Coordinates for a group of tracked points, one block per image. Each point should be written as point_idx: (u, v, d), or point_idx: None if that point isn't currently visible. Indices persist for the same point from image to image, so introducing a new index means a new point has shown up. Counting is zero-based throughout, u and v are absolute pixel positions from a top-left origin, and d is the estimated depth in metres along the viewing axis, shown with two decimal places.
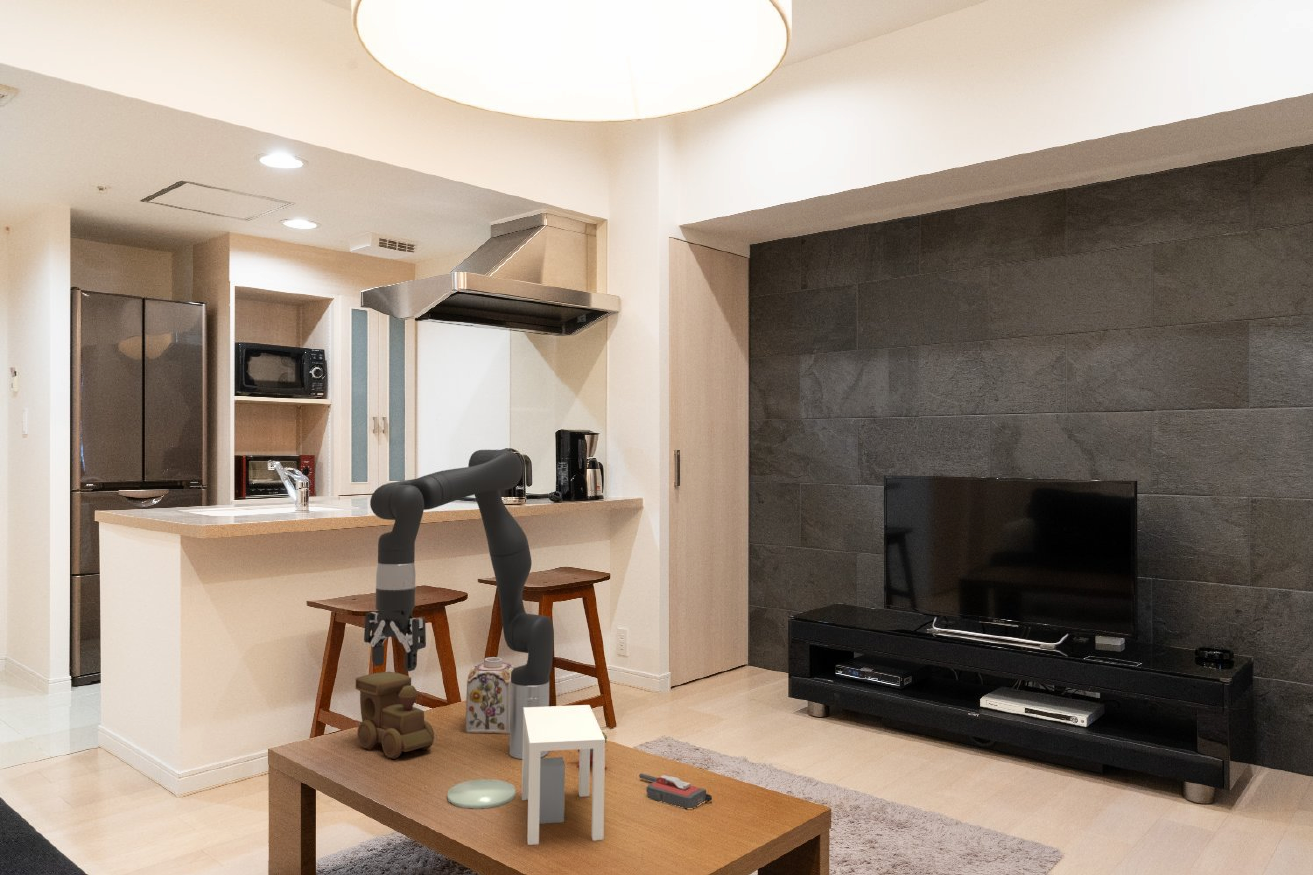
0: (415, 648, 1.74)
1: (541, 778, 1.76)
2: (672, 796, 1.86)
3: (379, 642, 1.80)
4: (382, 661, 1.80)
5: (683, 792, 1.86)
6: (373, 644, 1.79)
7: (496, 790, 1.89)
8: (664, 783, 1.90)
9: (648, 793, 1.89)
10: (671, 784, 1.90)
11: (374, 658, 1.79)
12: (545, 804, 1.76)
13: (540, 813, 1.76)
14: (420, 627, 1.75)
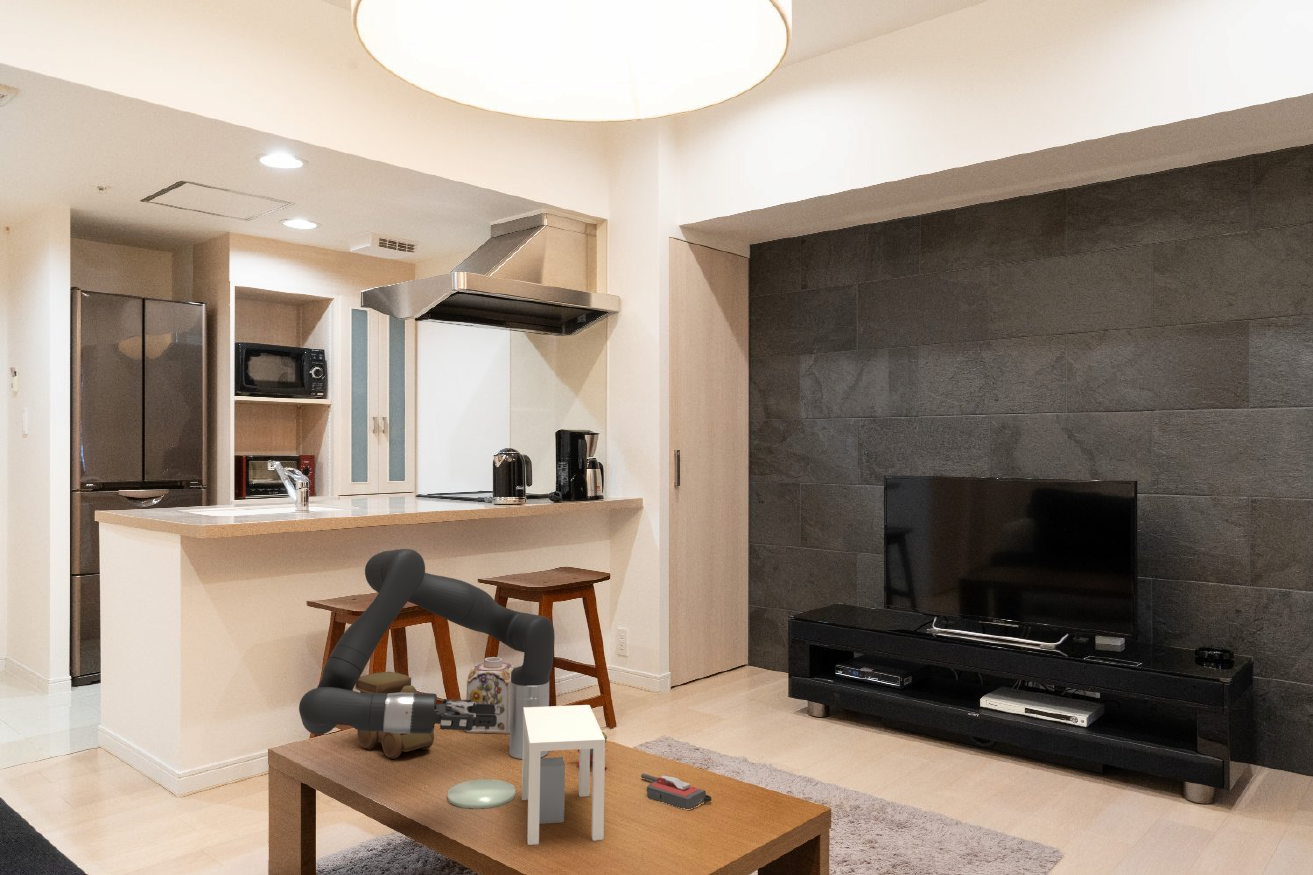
0: (470, 729, 1.69)
1: (541, 778, 1.76)
2: (671, 796, 1.86)
3: (471, 709, 1.80)
4: (491, 706, 1.80)
5: (682, 792, 1.85)
6: None
7: (496, 790, 1.89)
8: (664, 783, 1.90)
9: (648, 793, 1.89)
10: (671, 784, 1.90)
11: None
12: (545, 804, 1.76)
13: (540, 813, 1.76)
14: (450, 723, 1.68)
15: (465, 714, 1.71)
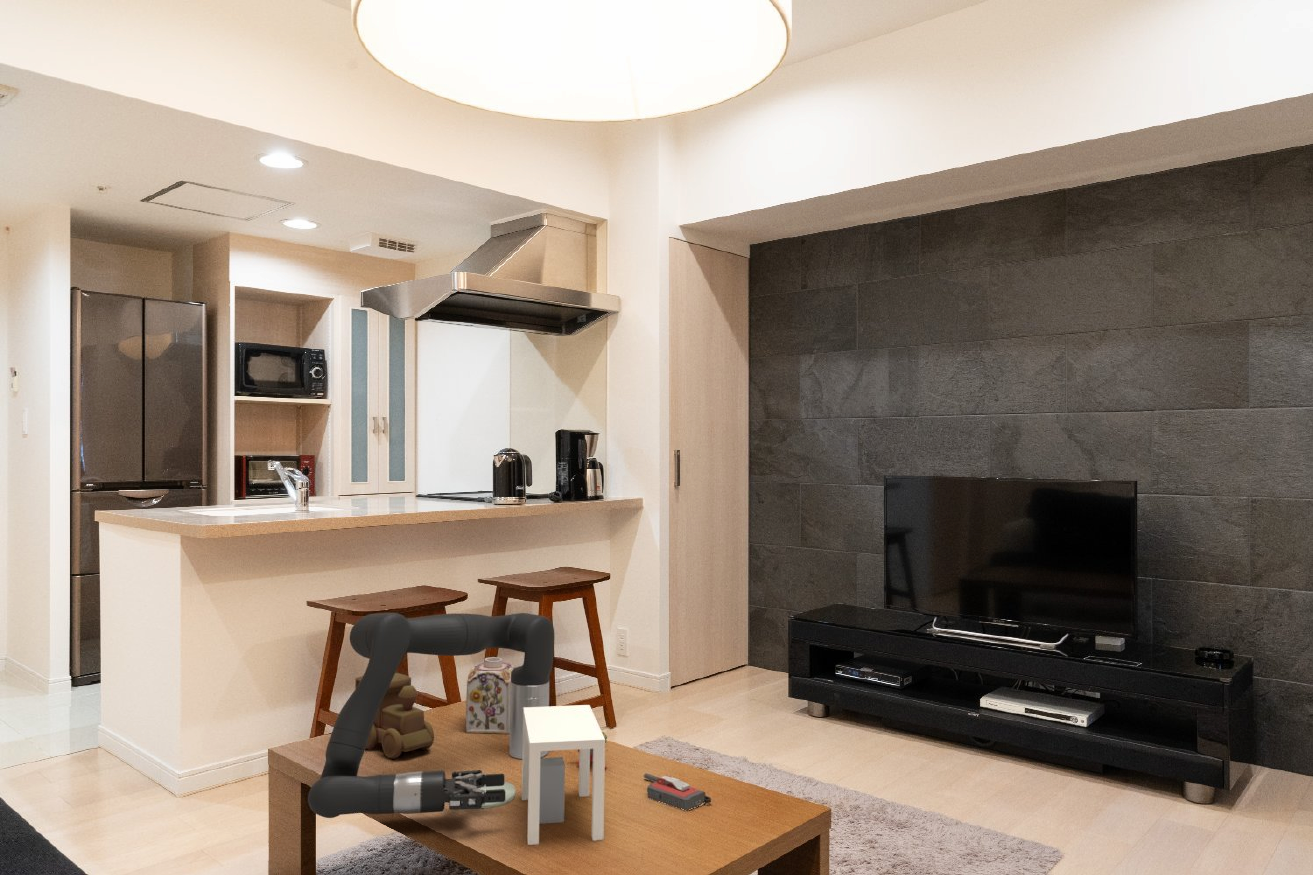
0: None
1: (541, 778, 1.76)
2: (670, 797, 1.85)
3: (481, 780, 1.80)
4: (501, 776, 1.81)
5: (681, 793, 1.85)
6: None
7: None
8: (664, 784, 1.90)
9: (648, 793, 1.90)
10: (671, 785, 1.89)
11: None
12: (545, 804, 1.76)
13: (540, 813, 1.76)
14: (459, 803, 1.68)
15: (474, 791, 1.71)
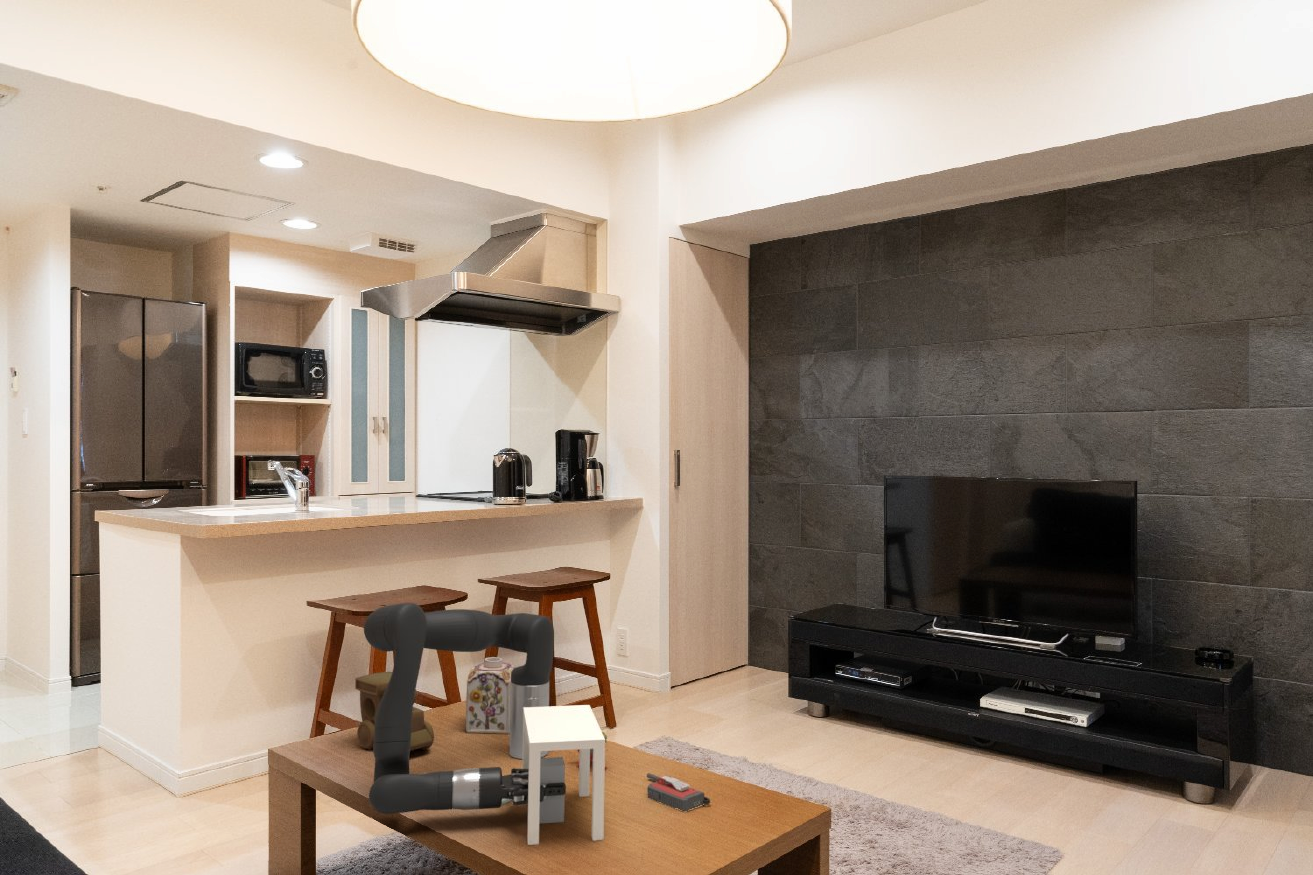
0: (541, 800, 1.73)
1: (541, 778, 1.76)
2: (669, 797, 1.85)
3: None
4: None
5: (679, 794, 1.85)
6: None
7: None
8: (664, 784, 1.89)
9: (648, 793, 1.90)
10: (671, 785, 1.89)
11: None
12: (545, 804, 1.76)
13: (540, 813, 1.76)
14: (523, 798, 1.71)
15: None
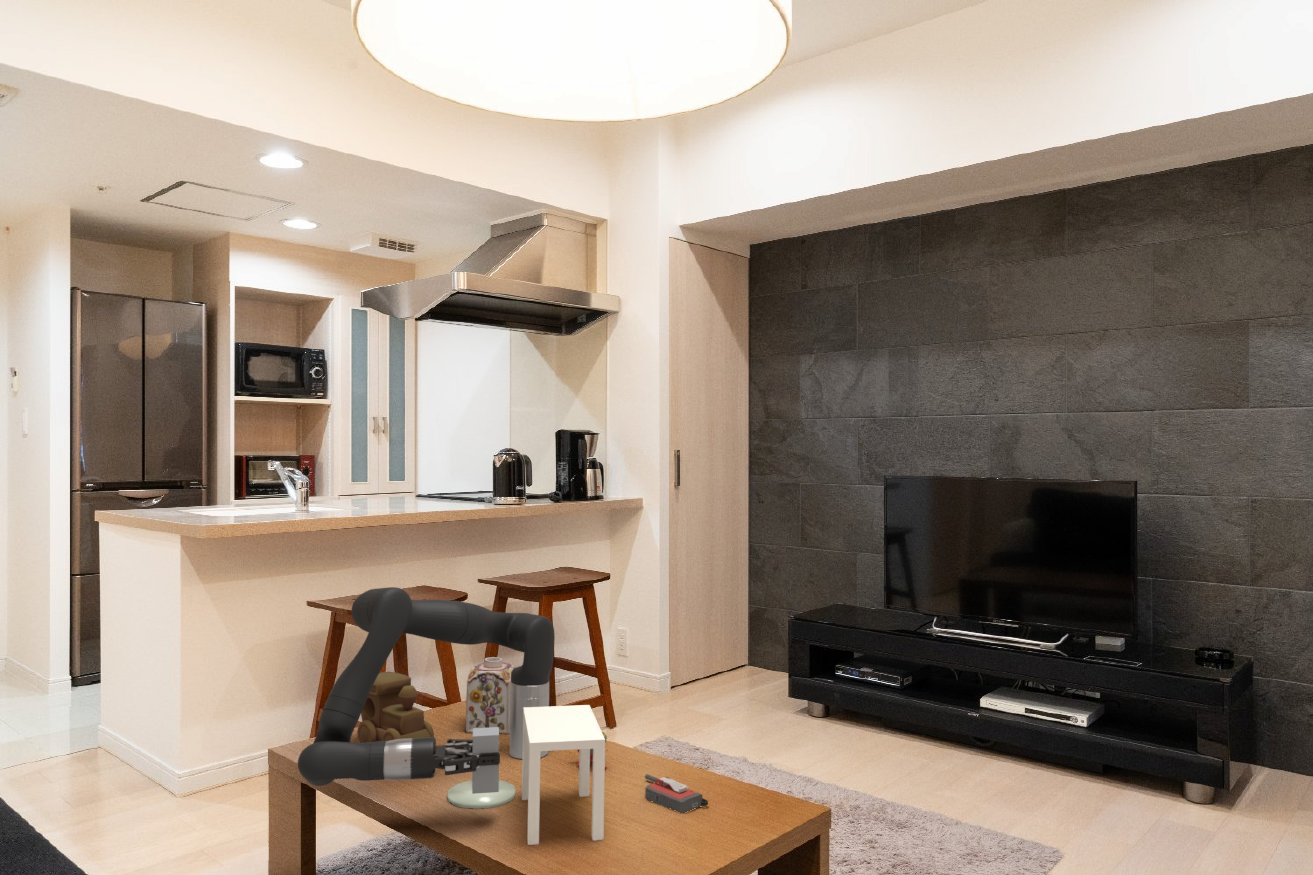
0: (474, 770, 1.71)
1: (475, 748, 1.73)
2: (667, 799, 1.84)
3: None
4: None
5: (677, 795, 1.84)
6: None
7: None
8: (662, 785, 1.89)
9: (646, 794, 1.89)
10: (669, 787, 1.88)
11: None
12: (478, 774, 1.74)
13: (474, 783, 1.73)
14: (455, 768, 1.69)
15: (468, 755, 1.72)
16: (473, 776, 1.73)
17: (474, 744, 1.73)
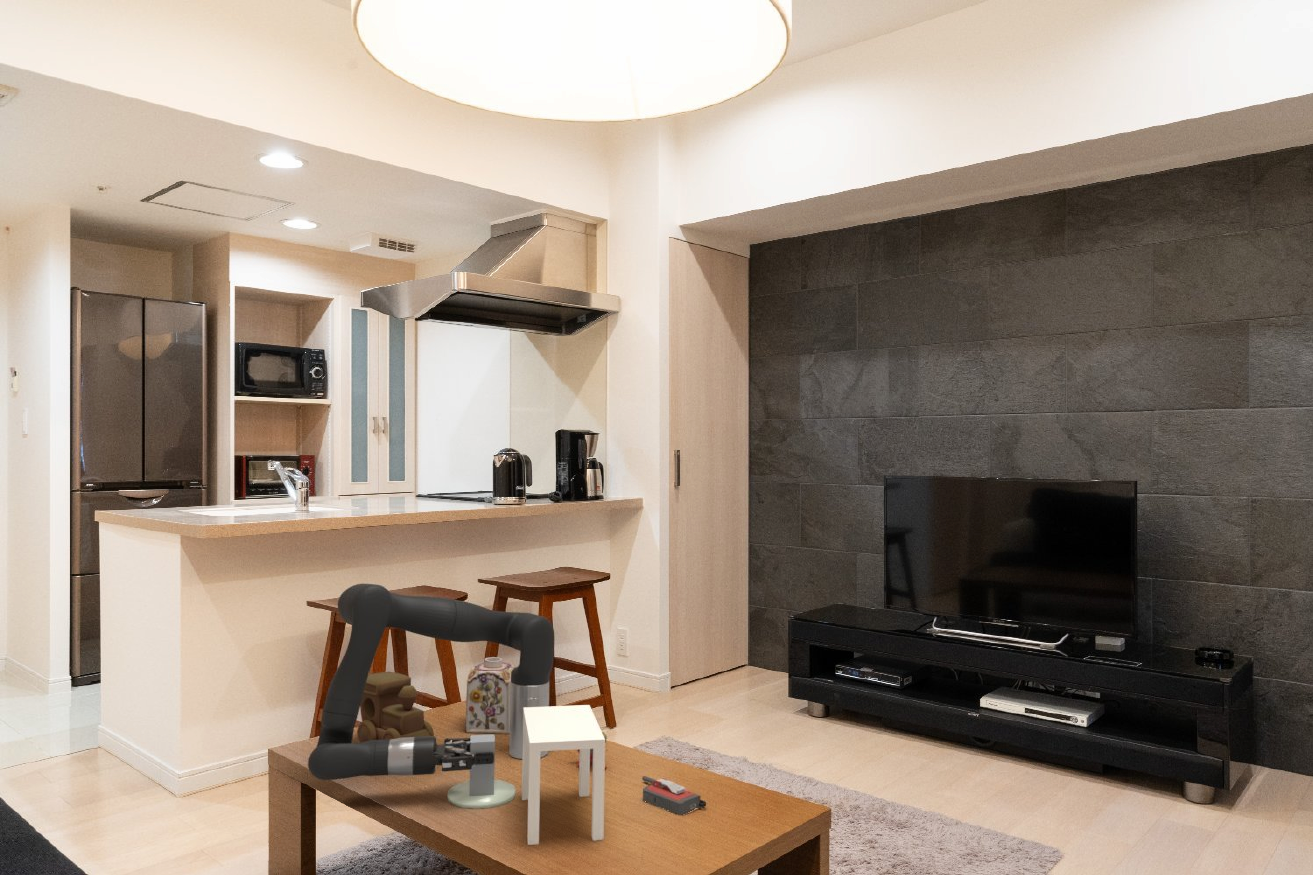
0: (470, 768, 1.83)
1: None
2: (664, 800, 1.83)
3: None
4: None
5: (675, 797, 1.83)
6: None
7: (496, 790, 1.89)
8: (660, 787, 1.88)
9: (643, 796, 1.88)
10: (667, 788, 1.88)
11: None
12: (475, 778, 1.87)
13: (471, 786, 1.86)
14: (451, 765, 1.82)
15: (464, 754, 1.85)
16: (470, 780, 1.86)
17: (471, 750, 1.87)
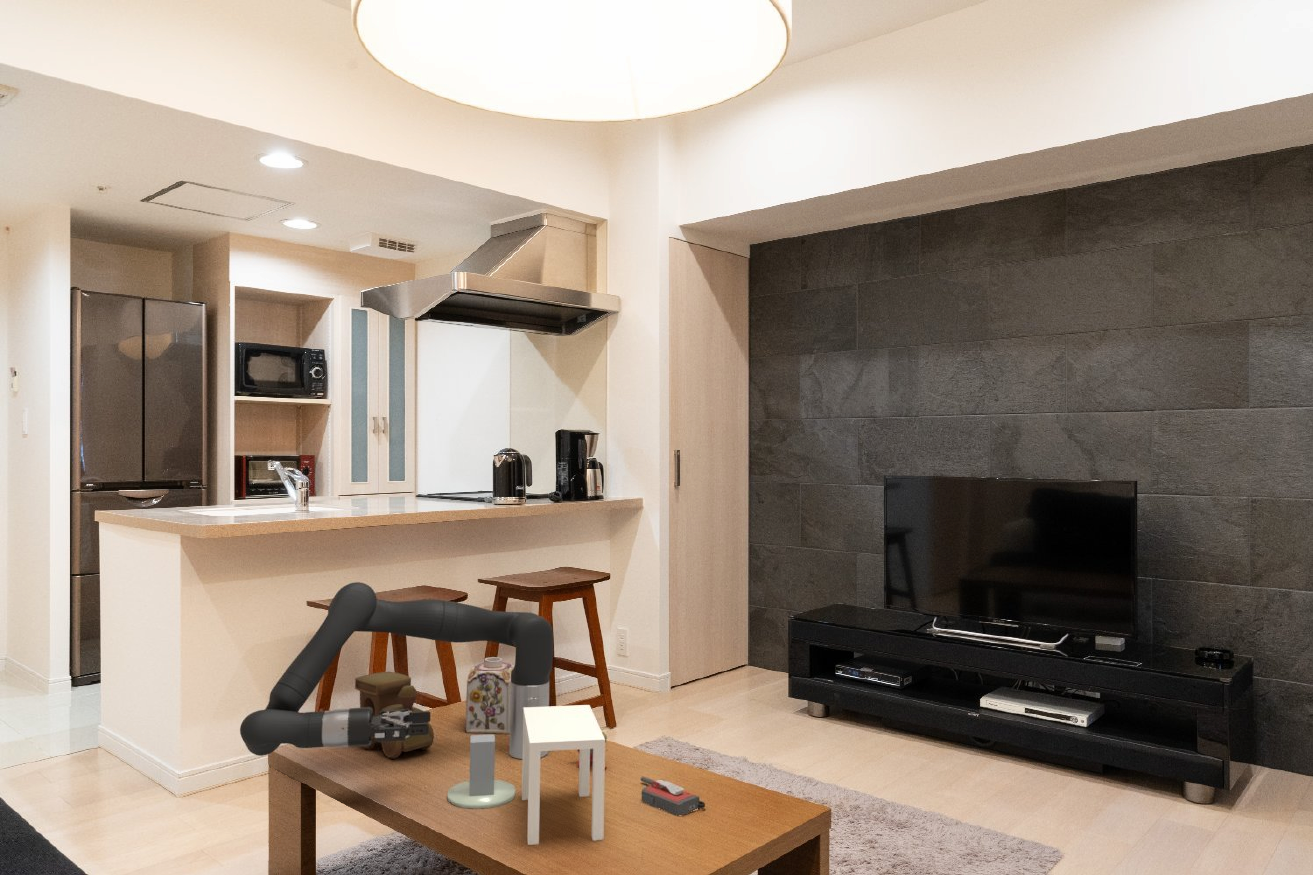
0: (403, 739, 1.80)
1: (472, 753, 1.87)
2: (663, 801, 1.83)
3: (408, 717, 1.91)
4: (427, 713, 1.91)
5: (674, 798, 1.82)
6: None
7: (496, 790, 1.89)
8: (658, 788, 1.87)
9: (642, 797, 1.87)
10: (665, 789, 1.87)
11: None
12: (475, 778, 1.87)
13: (471, 786, 1.86)
14: (383, 735, 1.79)
15: (398, 725, 1.82)
16: (470, 780, 1.86)
17: (471, 750, 1.87)
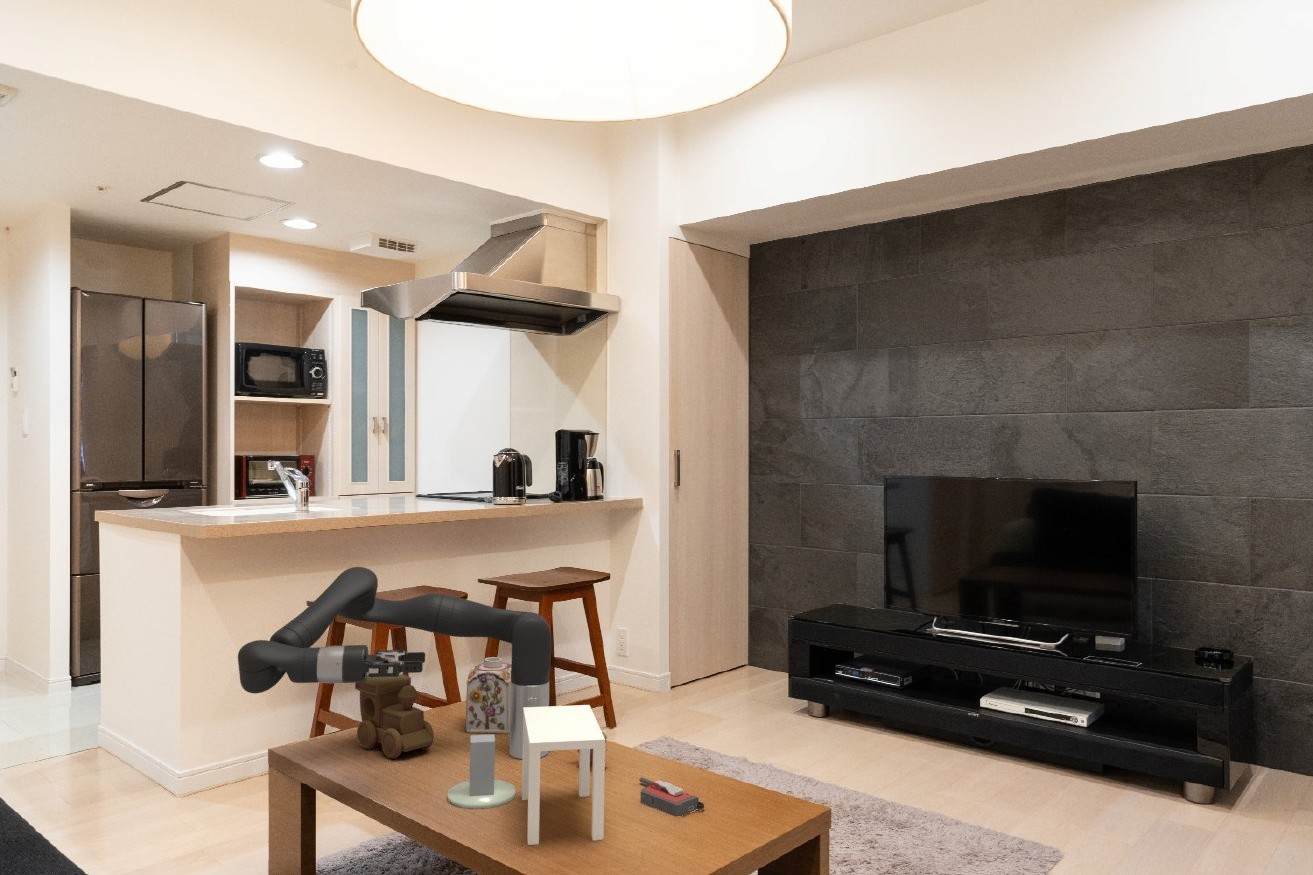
0: None
1: (472, 753, 1.87)
2: (662, 802, 1.83)
3: (403, 657, 1.92)
4: (421, 654, 1.93)
5: (673, 798, 1.82)
6: (404, 663, 1.93)
7: (496, 790, 1.89)
8: (657, 788, 1.87)
9: (641, 798, 1.87)
10: (664, 790, 1.87)
11: None
12: (475, 778, 1.87)
13: (471, 786, 1.86)
14: (377, 671, 1.81)
15: (392, 662, 1.84)
16: (470, 780, 1.86)
17: (471, 750, 1.87)
